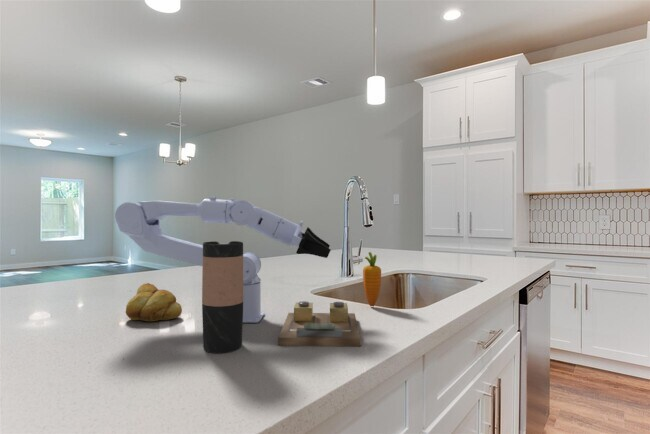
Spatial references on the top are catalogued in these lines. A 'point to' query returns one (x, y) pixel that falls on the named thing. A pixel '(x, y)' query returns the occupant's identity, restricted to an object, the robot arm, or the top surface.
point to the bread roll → (153, 304)
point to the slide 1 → (303, 311)
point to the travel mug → (222, 296)
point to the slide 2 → (338, 312)
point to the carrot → (372, 280)
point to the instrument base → (320, 331)
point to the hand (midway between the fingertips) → (328, 251)
